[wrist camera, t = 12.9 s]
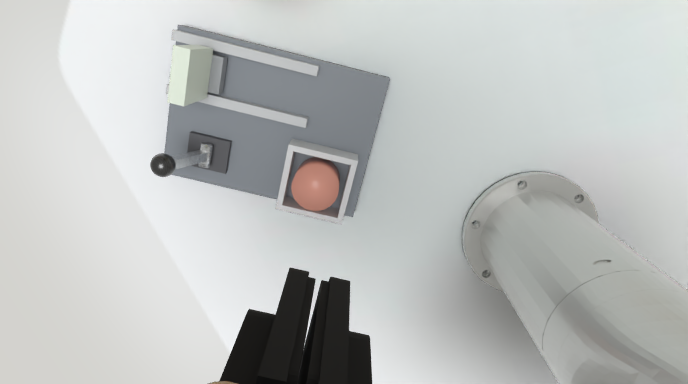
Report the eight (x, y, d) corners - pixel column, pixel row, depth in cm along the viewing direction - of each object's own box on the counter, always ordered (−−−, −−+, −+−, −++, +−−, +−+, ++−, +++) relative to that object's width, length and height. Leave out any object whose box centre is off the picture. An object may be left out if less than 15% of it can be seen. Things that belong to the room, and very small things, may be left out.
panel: (388, 77, 38) (392, 80, 34) (352, 211, 42) (352, 227, 38) (184, 25, 37) (166, 23, 33) (169, 167, 41) (151, 180, 37)
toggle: (219, 146, 37) (165, 158, 32) (215, 167, 38) (162, 183, 32) (202, 140, 38) (146, 150, 32) (199, 161, 39) (144, 175, 33)
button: (344, 162, 39) (343, 172, 36) (334, 203, 40) (332, 215, 37) (301, 152, 38) (296, 161, 35) (292, 193, 40) (287, 204, 37)
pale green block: (228, 50, 35) (203, 52, 30) (221, 98, 37) (196, 109, 31) (192, 41, 35) (160, 42, 29) (187, 90, 37) (154, 99, 31)
